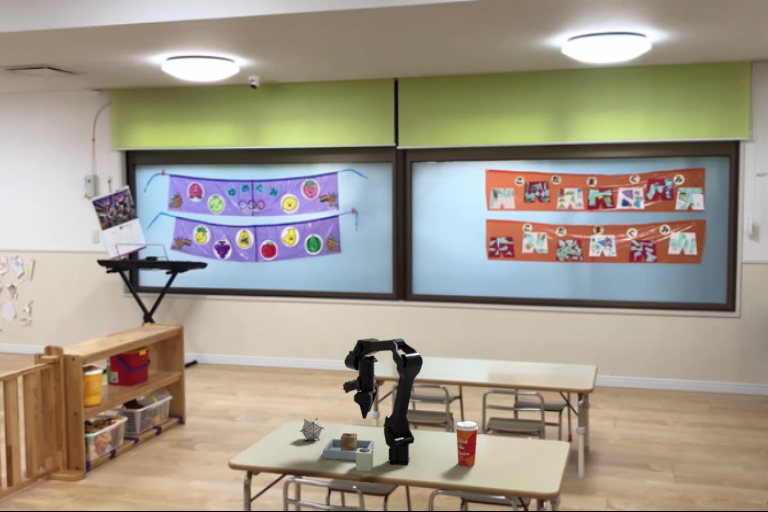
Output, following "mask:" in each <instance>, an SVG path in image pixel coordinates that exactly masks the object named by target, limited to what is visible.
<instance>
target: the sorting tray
mask: <svg viewBox="0 0 768 512" xmlns="http://www.w3.org/2000/svg"><path fill="white" fill-rule="evenodd" d="M358 448H368V449H374V450H375V440H373V439H372V440H370V439H357V450H358ZM356 452H357V451H343V450H341V438H331V439H329V441H328V443H327V444H326V445H325V447H324V448H323V449H322V460H335V459H341V461H343V460H344V461H355V462H356Z"/></svg>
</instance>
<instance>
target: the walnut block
mask: <svg viewBox="0 0 768 512" xmlns="http://www.w3.org/2000/svg"><path fill="white" fill-rule="evenodd" d="M340 439H341V450H343V451H357V440H358V434H357V433H346V432H343V433H342V435H340Z"/></svg>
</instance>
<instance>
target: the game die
mask: <svg viewBox="0 0 768 512" xmlns="http://www.w3.org/2000/svg"><path fill="white" fill-rule="evenodd" d="M303 420H304V424H303V425H302V428H301V430H299V432H301V433H302V434H303V436H304V438H305V442H307V441H308V440H318V441H320V438H319V437H320V435H321V432H322V430H324V429H325V427H322V426H321V424H320V423H319V421H318V417H317V418H315V419H308V420H306V419H305V418H304V419H303Z"/></svg>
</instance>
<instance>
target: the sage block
mask: <svg viewBox="0 0 768 512" xmlns="http://www.w3.org/2000/svg"><path fill="white" fill-rule="evenodd" d="M373 467H374V450H373V449H368V448H358V450H357V452H356V461H355V471H363V472H365V471H366V472H367V471H368V472H371V471H372V469H373Z"/></svg>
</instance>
